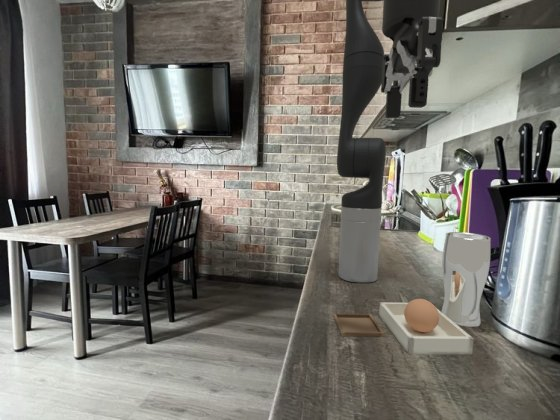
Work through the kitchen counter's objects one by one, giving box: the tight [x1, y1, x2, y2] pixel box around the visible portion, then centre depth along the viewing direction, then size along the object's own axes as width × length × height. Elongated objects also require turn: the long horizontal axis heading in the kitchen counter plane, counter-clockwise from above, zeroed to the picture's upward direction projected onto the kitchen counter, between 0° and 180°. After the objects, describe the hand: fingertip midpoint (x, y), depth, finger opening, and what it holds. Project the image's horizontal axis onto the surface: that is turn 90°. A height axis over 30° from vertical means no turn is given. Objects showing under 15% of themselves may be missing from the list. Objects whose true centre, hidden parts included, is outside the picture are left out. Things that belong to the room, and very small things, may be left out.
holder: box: [332, 313, 386, 338], centre depth 51 cm, size 7×7×1 cm
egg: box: [404, 298, 439, 332], centre depth 49 cm, size 5×5×5 cm
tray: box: [378, 301, 475, 356], centre depth 49 cm, size 12×9×3 cm
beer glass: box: [440, 231, 492, 328], centre depth 54 cm, size 7×7×15 cm
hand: (403, 112), depth 46 cm, fingers open, 8 cm apart
